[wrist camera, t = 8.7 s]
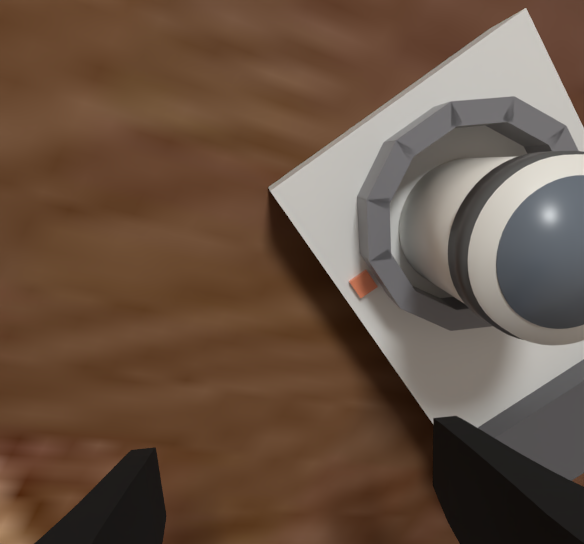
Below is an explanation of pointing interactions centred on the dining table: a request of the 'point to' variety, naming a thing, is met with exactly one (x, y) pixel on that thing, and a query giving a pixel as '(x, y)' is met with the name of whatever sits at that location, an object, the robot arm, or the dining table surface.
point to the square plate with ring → (413, 287)
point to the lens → (505, 240)
